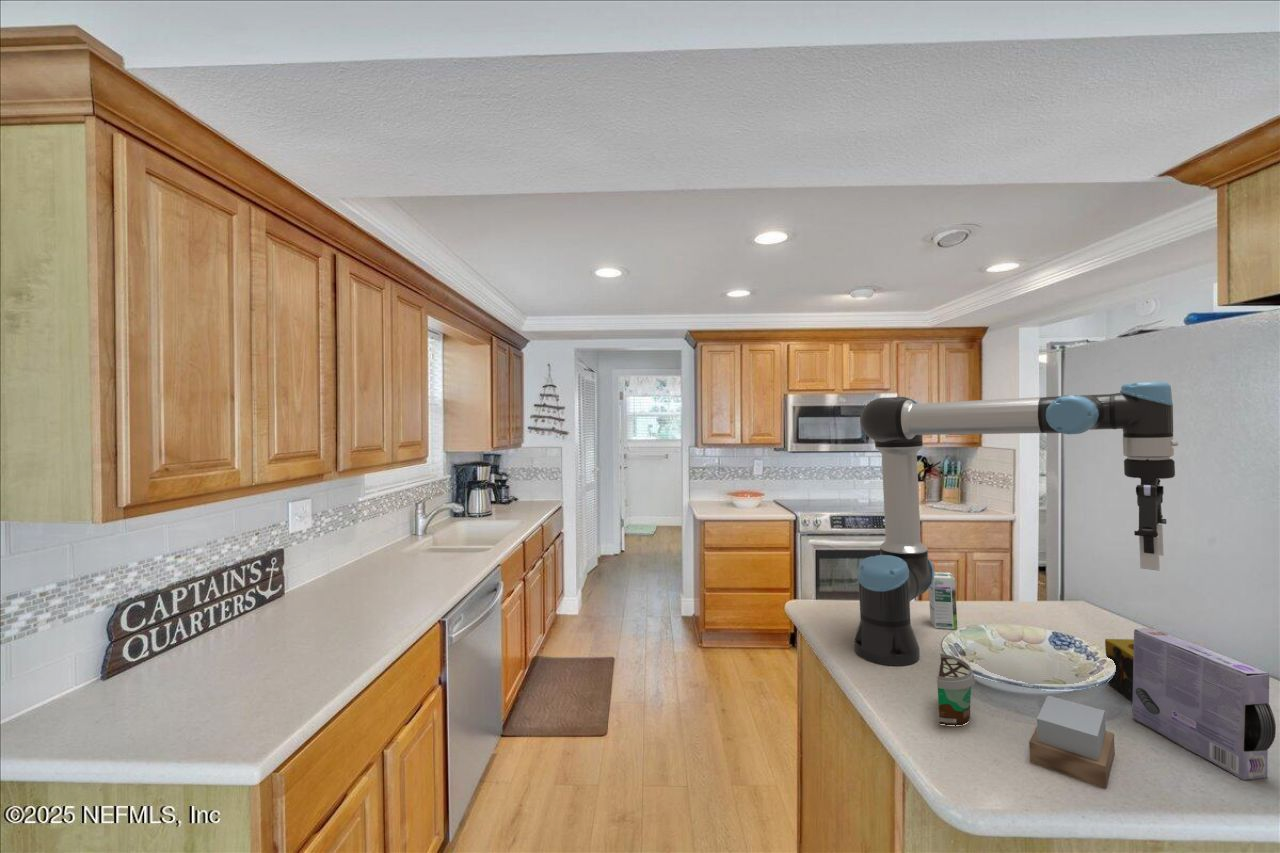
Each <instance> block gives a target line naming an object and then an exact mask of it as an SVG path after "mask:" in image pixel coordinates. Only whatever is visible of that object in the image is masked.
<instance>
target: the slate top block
mask: <svg viewBox="0 0 1280 853" xmlns="http://www.w3.org/2000/svg"><path fill="white" fill-rule="evenodd" d="M1036 727H1037V734H1038V742H1041V743H1044V744H1047V745H1051V746H1054V747H1057V748H1060V749H1063V750H1066V751H1069V752H1072V753H1075V754H1079V755H1082V756H1085V757H1088V758H1091V759H1094V760H1097V761H1099V757H1100V753H1101V749H1102V746H1103V742H1104V738H1105V734H1106V731H1107V730H1106V710H1104V709H1100V708H1096V707H1093V706H1089V705H1086V704H1081V703H1078V702H1075V701H1074V702H1073V701H1070V700H1066V699H1063V698H1060V697H1059V698H1058V697H1055V696H1053V695H1047V697H1046V699H1045V700H1044V702H1043V704H1042V706H1041V709H1040V710H1039V714H1038V715H1037V717H1036Z"/></svg>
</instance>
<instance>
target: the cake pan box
mask: <svg viewBox="0 0 1280 853" xmlns="http://www.w3.org/2000/svg"><path fill="white" fill-rule="evenodd" d="M1133 639H1134V657H1133V702H1132V708H1131V710H1132V712H1131V715H1132V716H1131V717H1132V719H1133V720H1134V721H1137V722H1138V723H1140V724H1143V725H1144V726H1147V727H1148V728H1150V729H1151V730H1153V731H1154V732H1157V733H1159V734H1160V735H1163V736H1164V737H1166V738H1167V739H1169V740H1170V741H1171V742H1172V743H1175V744H1177V745H1178V746H1180V747H1182V748H1184V749H1185V750H1188V751H1190V753H1193V754H1195V755H1198V756H1200V757H1202V758H1204V759H1205V760H1207V761H1209V762H1211V763H1213V764H1215V765H1216V766H1217V767H1220V768H1222V769H1223V770H1225V771H1228V772H1229V773H1231V774H1232V775H1234V776H1236V778H1239V779H1240V780H1242V781H1251V780H1258V779H1259V780H1260V778H1261V779H1265V778H1264V777H1267V778H1268V772H1269V771H1268V766H1269V764H1268V763H1269V762H1268V757H1269V756H1268V751H1269V749H1270V747H1272V745H1273V744H1274V742H1275V738H1276V730H1277V729H1276V728H1277V727H1276V726H1277V725H1276V720H1275V716H1274V713H1273V710H1272V707H1271V705H1270V673H1269V672H1267V671H1265V670H1262V669H1261V668H1257V667H1254V666H1252V665H1249V664H1246V663H1243V662H1241V661H1239V660H1236V659H1233V658H1231V657H1229V656H1226V655H1223V654H1221V653H1218V652H1216V651H1213V650H1211V649H1208V648H1206V647H1203V646H1201V645H1198V644H1195V643H1194V642H1190V641H1188V640H1185V639H1183V638H1179V637H1177V636H1174V635H1172V634H1169V633H1167V632H1164V631H1162V630H1159V629H1157V628H1146V627H1145V628H1134V630H1133Z"/></svg>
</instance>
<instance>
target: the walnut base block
mask: <svg viewBox="0 0 1280 853" xmlns="http://www.w3.org/2000/svg"><path fill="white" fill-rule="evenodd" d="M1028 744H1029V745H1028V748H1029V762H1030V763H1031V764H1035V765H1038V766H1041V767H1044V768H1047V769H1049V770H1052V771H1055V772H1058V773H1061V774H1064V775H1067V776H1069V777H1073V778H1075V779H1078V780H1081V781H1084V782H1086V783H1089V784H1092V785H1094V786H1098V787H1100V788H1104V789H1107V788H1108V783H1109V779H1110V774H1111V770H1112V766H1113V762H1114V757H1115V755H1116V754H1115V753H1116V751H1115V750H1116V749H1115V733H1114V732H1111V731H1108V730H1106V734H1105V738H1104V742H1103V746H1102V749H1101V753H1100V757H1099V761H1097V760H1094V759H1091V758H1088V757H1085V756H1082V755H1079V754H1075V753H1072V752H1069V751H1066V750H1063V749H1060V748H1057V747H1054V746H1051V745H1047V744H1044V743H1041V742H1038V734H1037V726H1036V727H1035V728H1034V731H1033V733H1032V735H1031V738H1030V740H1029V741H1028Z"/></svg>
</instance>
